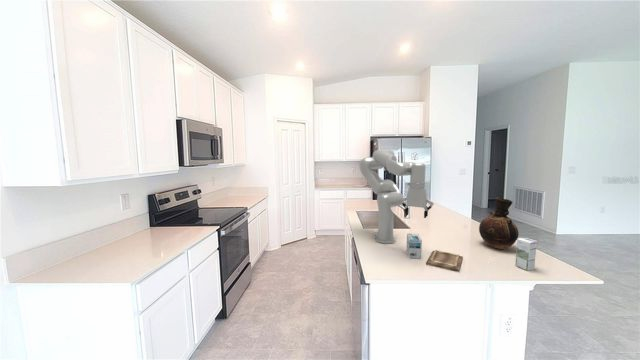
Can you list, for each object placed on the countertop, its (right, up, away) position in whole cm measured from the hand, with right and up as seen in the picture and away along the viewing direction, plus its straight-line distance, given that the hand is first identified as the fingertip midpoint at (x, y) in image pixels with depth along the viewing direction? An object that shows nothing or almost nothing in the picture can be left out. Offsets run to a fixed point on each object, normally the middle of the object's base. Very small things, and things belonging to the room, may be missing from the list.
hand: (416, 216), depth 137 cm
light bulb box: (0, -22, +3) cm, 23 cm away
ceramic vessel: (+54, -21, +12) cm, 59 cm away
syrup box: (+49, -24, -14) cm, 56 cm away
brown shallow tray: (+13, -23, -7) cm, 27 cm away
